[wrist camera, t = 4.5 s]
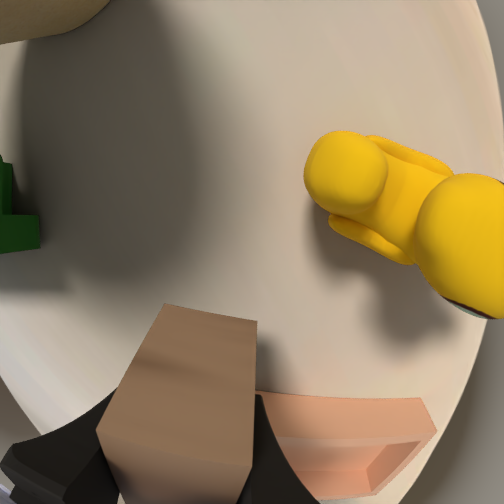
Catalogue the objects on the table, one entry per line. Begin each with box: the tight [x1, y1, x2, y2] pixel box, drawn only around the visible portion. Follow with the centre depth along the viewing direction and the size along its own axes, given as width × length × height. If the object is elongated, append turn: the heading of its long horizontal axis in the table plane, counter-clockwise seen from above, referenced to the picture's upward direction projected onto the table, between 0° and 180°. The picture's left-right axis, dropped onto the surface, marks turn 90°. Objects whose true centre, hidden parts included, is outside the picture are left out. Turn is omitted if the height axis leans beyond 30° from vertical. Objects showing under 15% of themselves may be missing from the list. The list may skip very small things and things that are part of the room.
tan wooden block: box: [96, 304, 257, 504], centre depth 10 cm, size 6×4×7 cm, turn 170°
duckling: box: [304, 131, 504, 319], centre depth 10 cm, size 11×5×10 cm, turn 69°
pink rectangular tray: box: [255, 390, 437, 500], centre depth 20 cm, size 11×15×4 cm
